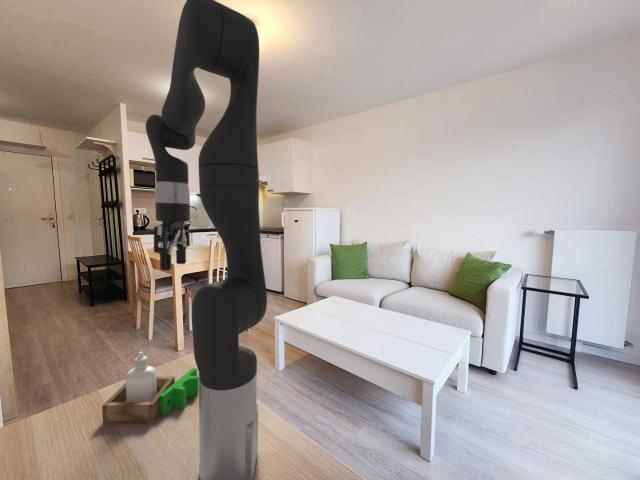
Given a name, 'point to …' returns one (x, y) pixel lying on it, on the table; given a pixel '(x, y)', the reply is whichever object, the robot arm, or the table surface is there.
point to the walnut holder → (134, 406)
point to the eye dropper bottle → (141, 381)
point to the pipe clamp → (179, 392)
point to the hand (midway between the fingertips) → (174, 266)
